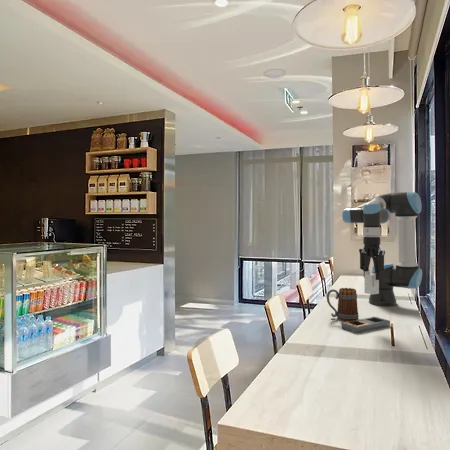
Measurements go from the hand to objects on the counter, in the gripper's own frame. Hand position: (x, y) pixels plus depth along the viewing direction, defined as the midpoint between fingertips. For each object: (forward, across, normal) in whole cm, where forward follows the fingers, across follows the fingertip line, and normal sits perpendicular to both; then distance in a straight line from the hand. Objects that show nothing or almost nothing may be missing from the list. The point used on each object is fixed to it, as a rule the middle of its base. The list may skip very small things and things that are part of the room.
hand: (371, 285), depth 189 cm
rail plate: (+19, 0, -3) cm, 19 cm away
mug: (+19, -17, -2) cm, 26 cm away
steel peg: (+4, 0, 0) cm, 4 cm away
